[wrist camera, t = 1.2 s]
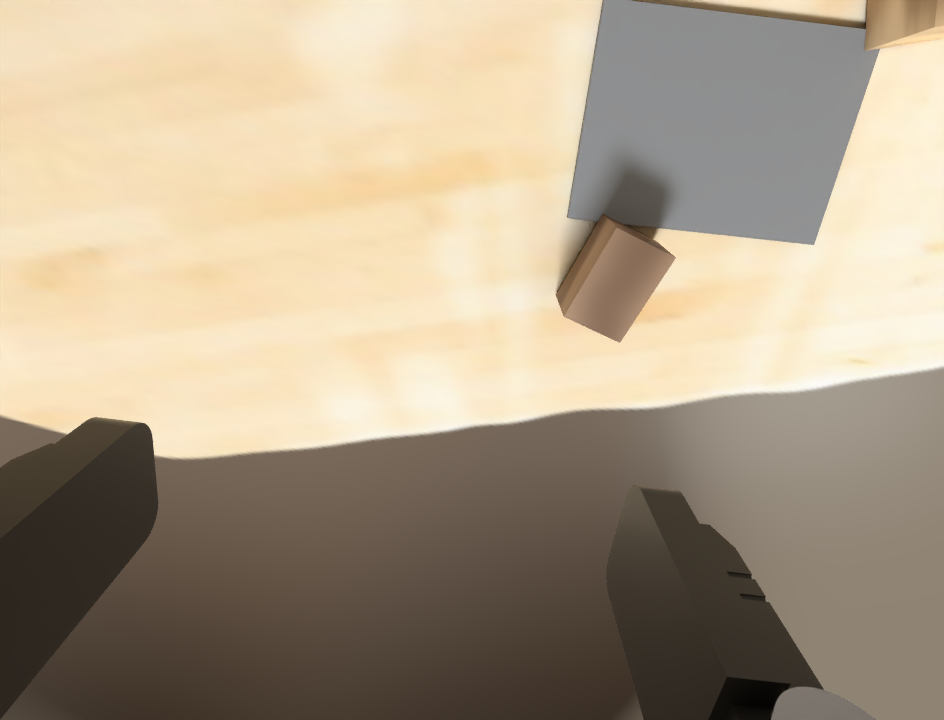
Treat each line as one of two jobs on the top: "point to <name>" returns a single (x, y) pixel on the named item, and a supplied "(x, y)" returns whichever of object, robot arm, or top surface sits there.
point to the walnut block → (612, 278)
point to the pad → (717, 120)
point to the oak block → (903, 22)
